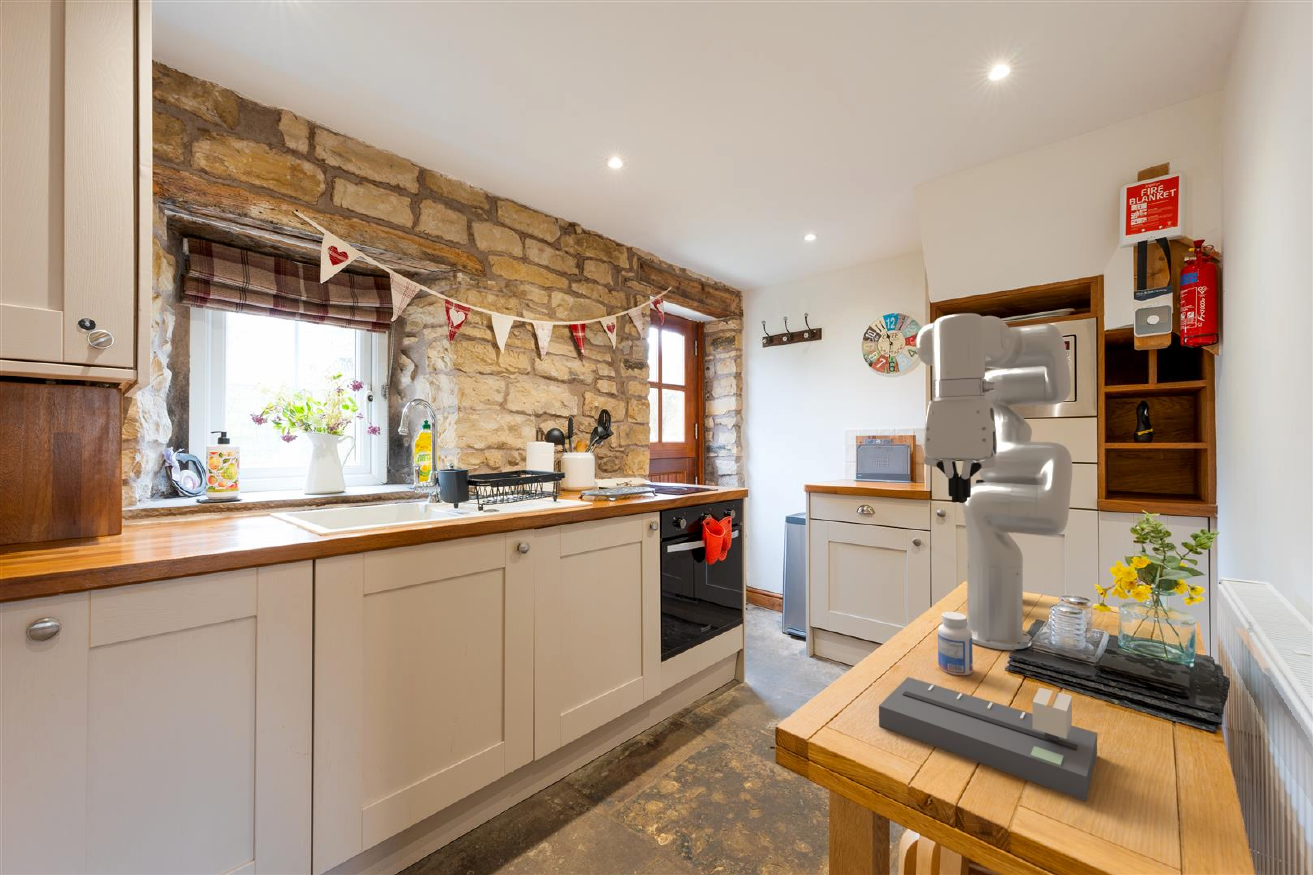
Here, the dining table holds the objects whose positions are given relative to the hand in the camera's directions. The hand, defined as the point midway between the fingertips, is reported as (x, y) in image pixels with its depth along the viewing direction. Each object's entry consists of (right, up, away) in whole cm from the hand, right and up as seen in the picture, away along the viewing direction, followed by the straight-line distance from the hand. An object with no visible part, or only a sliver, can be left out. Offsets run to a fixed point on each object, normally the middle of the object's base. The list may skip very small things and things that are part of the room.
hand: (959, 501), depth 91 cm
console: (-5, -32, -15) cm, 35 cm away
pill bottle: (+3, -31, +7) cm, 32 cm away
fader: (+1, -28, -20) cm, 35 cm away
